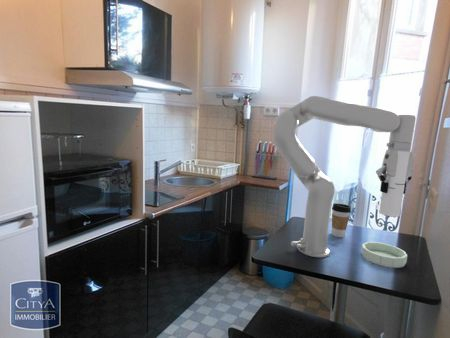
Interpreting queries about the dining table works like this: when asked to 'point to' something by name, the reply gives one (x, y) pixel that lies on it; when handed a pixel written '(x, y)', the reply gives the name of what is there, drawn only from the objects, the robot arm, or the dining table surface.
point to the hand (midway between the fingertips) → (392, 192)
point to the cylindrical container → (395, 188)
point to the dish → (384, 254)
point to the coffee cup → (340, 219)
